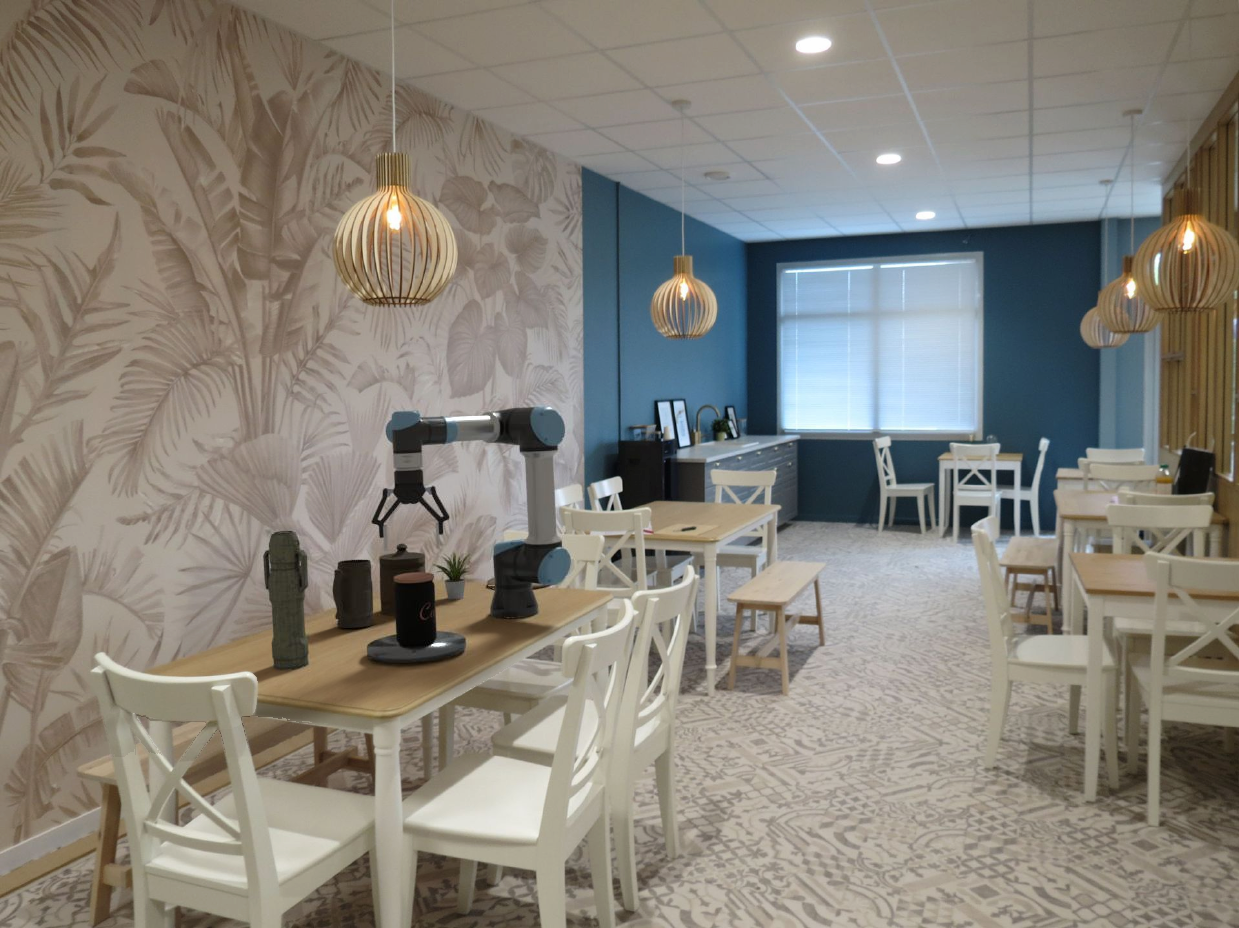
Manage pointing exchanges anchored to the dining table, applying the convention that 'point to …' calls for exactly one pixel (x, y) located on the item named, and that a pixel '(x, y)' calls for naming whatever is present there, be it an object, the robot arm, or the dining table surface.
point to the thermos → (287, 599)
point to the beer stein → (353, 593)
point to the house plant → (454, 577)
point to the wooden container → (396, 573)
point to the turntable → (416, 649)
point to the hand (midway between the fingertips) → (412, 548)
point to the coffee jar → (415, 609)
